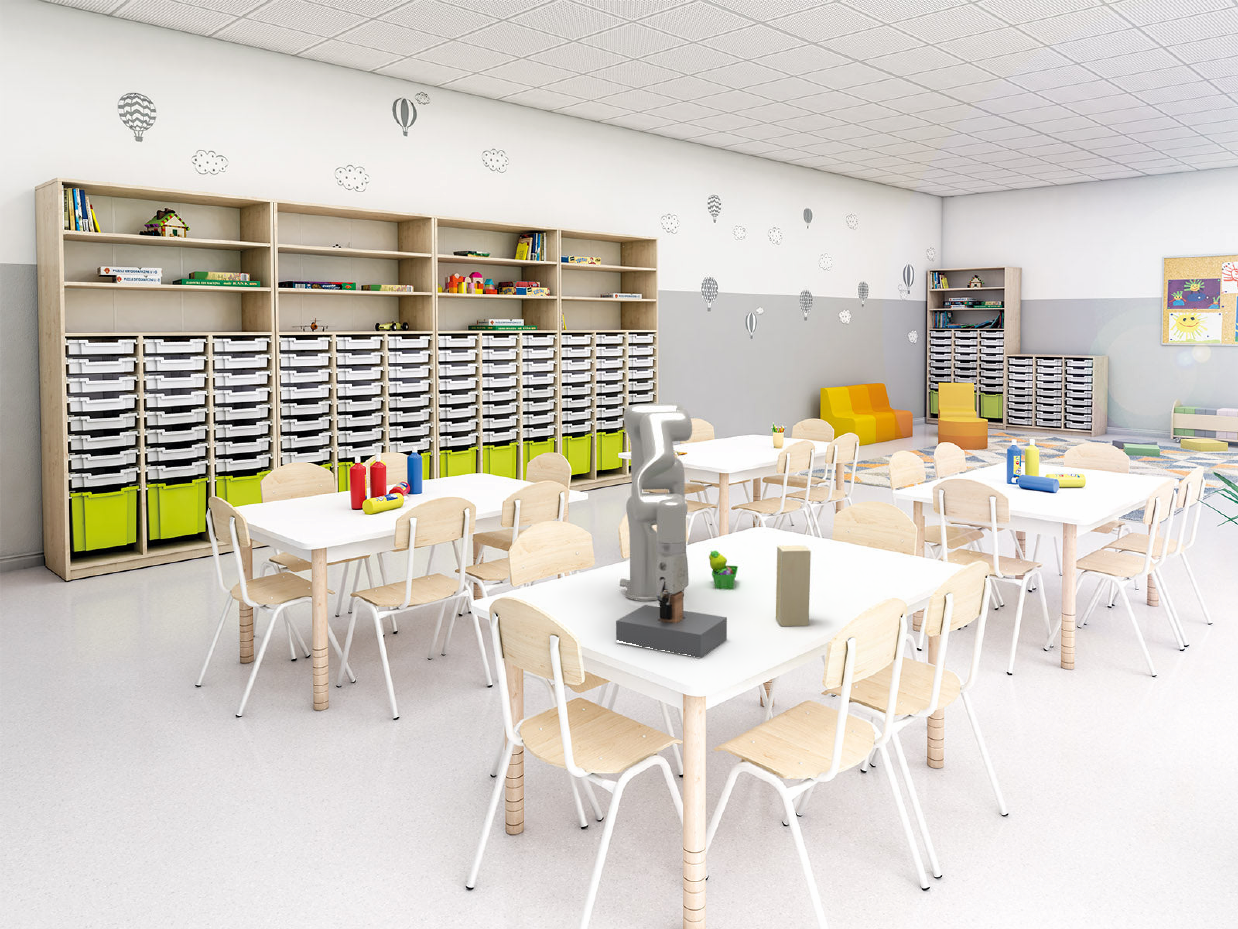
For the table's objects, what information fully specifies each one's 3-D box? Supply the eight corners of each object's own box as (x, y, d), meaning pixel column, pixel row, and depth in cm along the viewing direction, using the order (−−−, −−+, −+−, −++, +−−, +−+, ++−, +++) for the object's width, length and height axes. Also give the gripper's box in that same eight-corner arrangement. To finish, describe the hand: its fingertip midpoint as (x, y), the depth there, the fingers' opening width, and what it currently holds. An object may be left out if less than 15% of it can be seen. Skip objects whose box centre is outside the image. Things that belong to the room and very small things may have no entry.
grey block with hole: (616, 643, 238) (616, 620, 237) (645, 626, 252) (645, 604, 251) (700, 658, 226) (700, 634, 225) (726, 639, 240) (726, 617, 239)
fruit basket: (736, 590, 285) (736, 555, 284) (707, 589, 287) (707, 554, 285) (737, 581, 297) (738, 547, 295) (710, 580, 298) (710, 546, 297)
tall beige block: (803, 617, 257) (804, 544, 254) (809, 626, 250) (810, 550, 247) (775, 618, 257) (775, 545, 254) (780, 626, 250) (781, 551, 247)
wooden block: (660, 642, 238) (660, 593, 236) (668, 637, 242) (667, 589, 240) (675, 645, 236) (675, 596, 234) (683, 640, 240) (682, 591, 238)
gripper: (669, 556, 226) (669, 627, 229) (699, 542, 241) (698, 609, 243) (642, 552, 230) (643, 622, 232) (673, 539, 245) (673, 605, 247)
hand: (671, 615), depth 238 cm, fingers open, 5 cm apart
